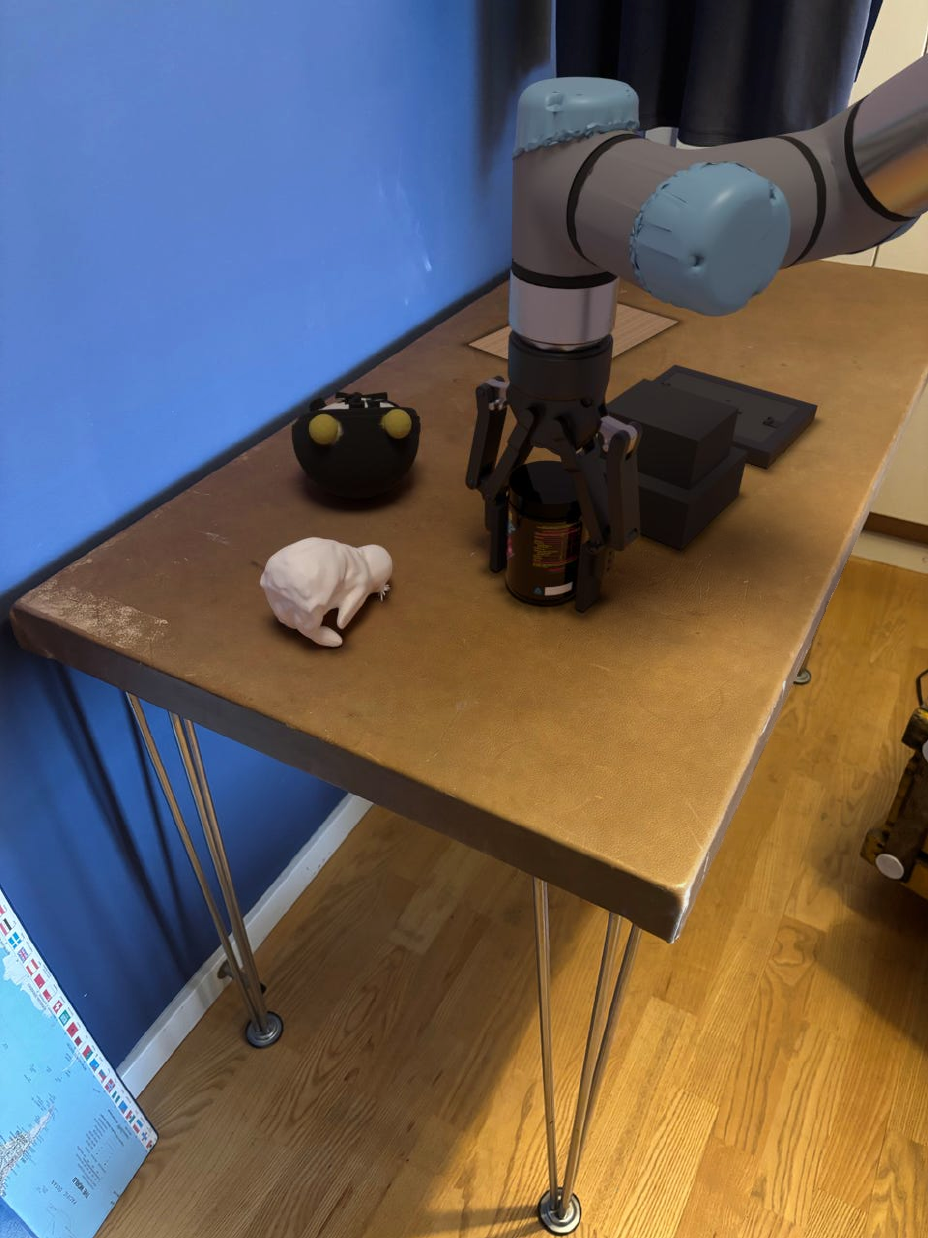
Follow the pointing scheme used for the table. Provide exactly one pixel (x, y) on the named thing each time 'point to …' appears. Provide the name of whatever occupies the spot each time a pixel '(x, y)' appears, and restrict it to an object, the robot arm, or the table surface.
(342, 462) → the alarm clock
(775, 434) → the picture frame
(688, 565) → the table surface
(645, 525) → the dark rectangular box
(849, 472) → the table surface
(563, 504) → the supplement container
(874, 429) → the table surface
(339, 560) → the white clay creature
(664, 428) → the top pad
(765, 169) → the robot arm
